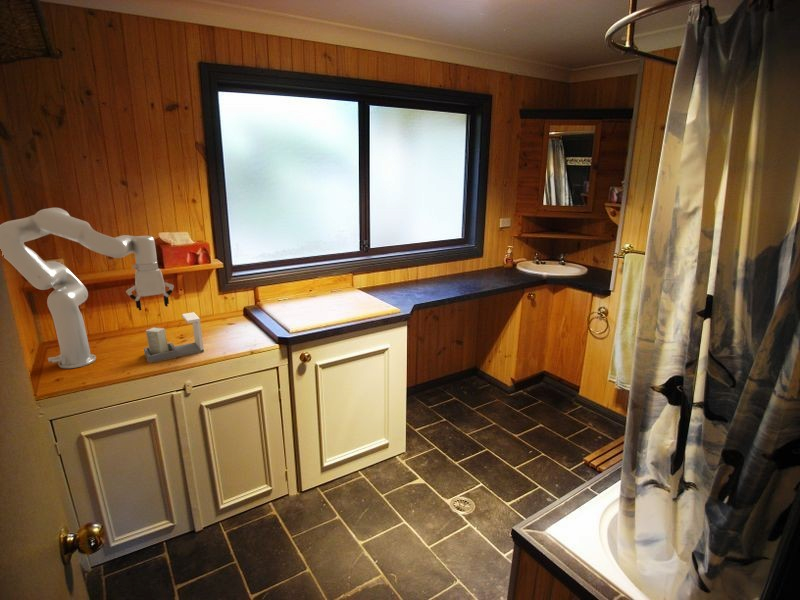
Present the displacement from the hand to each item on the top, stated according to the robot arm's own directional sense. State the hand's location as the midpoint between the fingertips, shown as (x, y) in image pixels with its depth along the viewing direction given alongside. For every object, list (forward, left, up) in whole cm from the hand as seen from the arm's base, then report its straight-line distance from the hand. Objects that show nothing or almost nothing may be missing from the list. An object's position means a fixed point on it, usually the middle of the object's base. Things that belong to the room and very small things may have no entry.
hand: (153, 307), depth 187 cm
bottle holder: (+5, 0, -22) cm, 22 cm away
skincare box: (0, 0, -22) cm, 22 cm away
